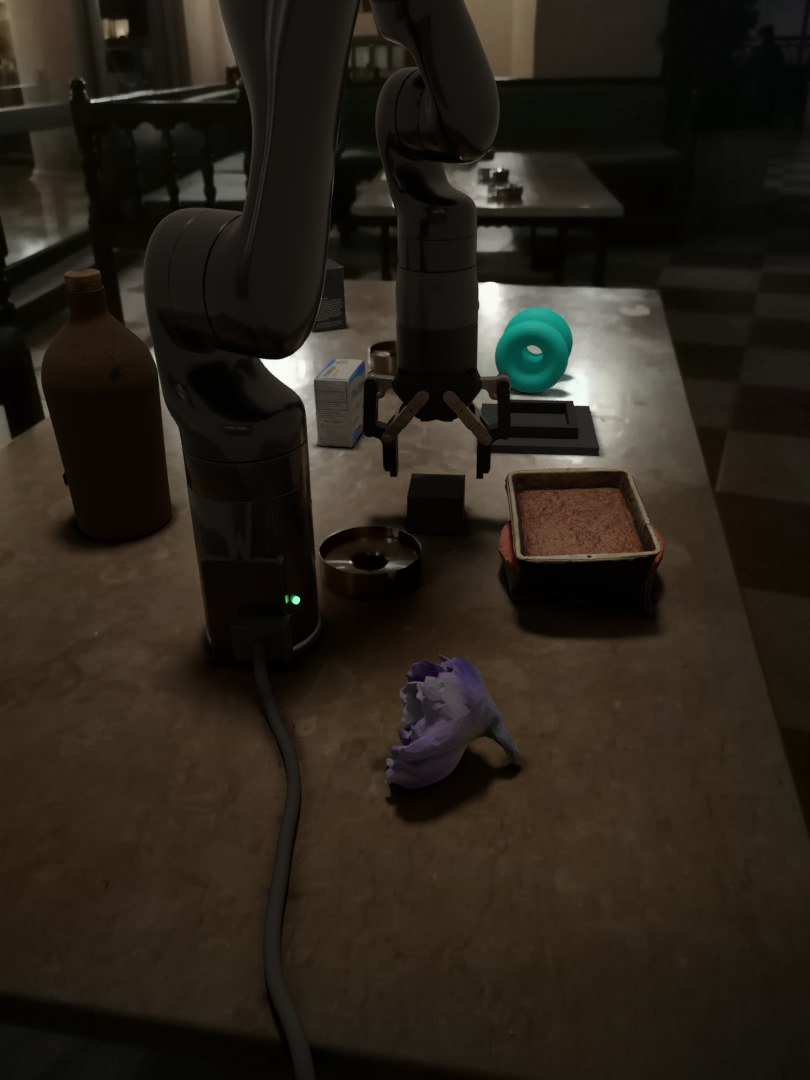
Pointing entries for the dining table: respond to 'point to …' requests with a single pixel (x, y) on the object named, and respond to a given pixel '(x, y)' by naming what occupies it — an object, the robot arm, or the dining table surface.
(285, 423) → the robot arm
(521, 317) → the donuts
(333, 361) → the medicine box
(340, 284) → the small box
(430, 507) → the black square block
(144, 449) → the olive oil
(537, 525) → the baking dish
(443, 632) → the dining table surface
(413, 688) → the flower
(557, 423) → the socket pad
